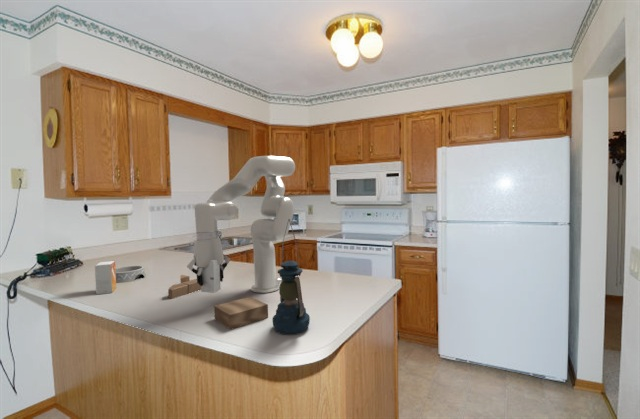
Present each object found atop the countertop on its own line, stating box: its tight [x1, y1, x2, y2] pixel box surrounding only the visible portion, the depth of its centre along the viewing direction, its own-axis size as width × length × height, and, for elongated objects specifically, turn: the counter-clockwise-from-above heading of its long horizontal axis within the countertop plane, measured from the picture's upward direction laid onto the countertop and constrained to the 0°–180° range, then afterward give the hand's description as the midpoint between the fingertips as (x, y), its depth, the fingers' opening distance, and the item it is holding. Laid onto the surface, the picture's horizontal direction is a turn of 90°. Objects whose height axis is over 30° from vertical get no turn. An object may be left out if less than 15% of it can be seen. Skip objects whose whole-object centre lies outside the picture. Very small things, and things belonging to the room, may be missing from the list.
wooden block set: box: [168, 274, 201, 299], centre depth 148 cm, size 17×6×18 cm
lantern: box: [272, 219, 311, 336], centre depth 103 cm, size 14×12×35 cm
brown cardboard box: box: [213, 296, 269, 330], centre depth 113 cm, size 14×12×5 cm
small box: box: [94, 260, 117, 295], centre depth 149 cm, size 8×6×13 cm
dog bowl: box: [115, 265, 147, 284], centre depth 172 cm, size 17×18×5 cm
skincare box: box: [200, 260, 222, 294], centre depth 123 cm, size 6×4×12 cm
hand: (210, 282), depth 123 cm, fingers closed on skincare box, 6 cm apart
